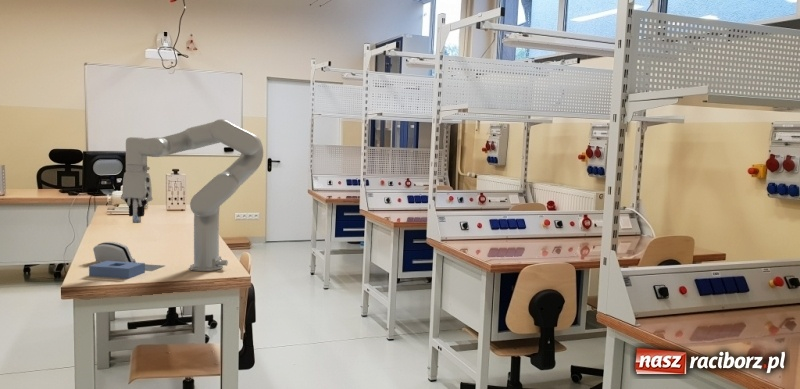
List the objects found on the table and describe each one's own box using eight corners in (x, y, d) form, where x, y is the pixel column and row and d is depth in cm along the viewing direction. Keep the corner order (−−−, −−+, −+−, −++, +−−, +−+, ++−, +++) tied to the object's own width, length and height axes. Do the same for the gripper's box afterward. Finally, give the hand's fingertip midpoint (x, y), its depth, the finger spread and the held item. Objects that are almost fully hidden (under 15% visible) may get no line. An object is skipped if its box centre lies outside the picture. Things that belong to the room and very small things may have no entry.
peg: (142, 222, 225) (142, 197, 224) (137, 223, 222) (137, 197, 221) (135, 221, 225) (135, 196, 224) (130, 222, 222) (130, 197, 221)
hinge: (136, 262, 236) (130, 241, 232) (128, 268, 232) (121, 247, 228) (105, 259, 242) (98, 238, 238) (96, 265, 238) (89, 244, 234)
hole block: (144, 273, 219) (144, 263, 218) (128, 279, 209) (128, 268, 209) (106, 270, 221) (106, 260, 221) (89, 276, 211) (89, 266, 211)
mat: (166, 266, 231) (166, 265, 231) (151, 271, 222) (151, 271, 222) (134, 264, 233) (134, 263, 233) (118, 269, 224) (118, 268, 224)
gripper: (161, 169, 224) (161, 216, 225) (124, 167, 227) (124, 213, 228) (149, 170, 216) (149, 218, 218) (111, 168, 219) (111, 216, 221)
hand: (136, 215), depth 223 cm, fingers closed on peg, 3 cm apart
